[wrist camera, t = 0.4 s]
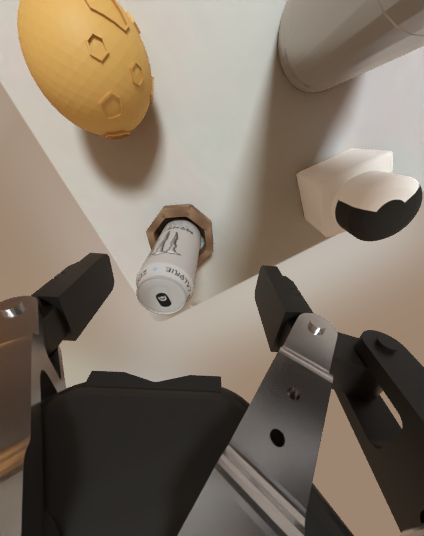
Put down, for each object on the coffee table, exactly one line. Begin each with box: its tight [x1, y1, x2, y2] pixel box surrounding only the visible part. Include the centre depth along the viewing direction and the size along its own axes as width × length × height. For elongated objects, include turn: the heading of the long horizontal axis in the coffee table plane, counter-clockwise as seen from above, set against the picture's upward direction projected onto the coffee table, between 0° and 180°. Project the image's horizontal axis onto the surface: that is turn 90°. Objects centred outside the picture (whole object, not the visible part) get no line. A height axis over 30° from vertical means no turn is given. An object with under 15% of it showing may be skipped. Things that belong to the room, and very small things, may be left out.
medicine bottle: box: [296, 149, 422, 241], centre depth 22 cm, size 7×7×12 cm
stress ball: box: [17, 0, 153, 139], centre depth 17 cm, size 10×10×10 cm
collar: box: [146, 204, 213, 267], centre depth 31 cm, size 10×10×2 cm
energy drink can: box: [136, 219, 201, 314], centre depth 25 cm, size 6×6×15 cm
